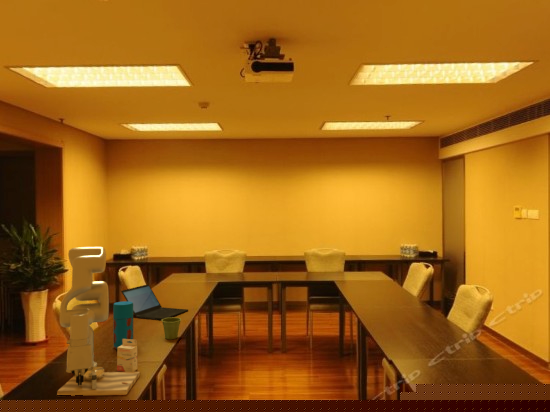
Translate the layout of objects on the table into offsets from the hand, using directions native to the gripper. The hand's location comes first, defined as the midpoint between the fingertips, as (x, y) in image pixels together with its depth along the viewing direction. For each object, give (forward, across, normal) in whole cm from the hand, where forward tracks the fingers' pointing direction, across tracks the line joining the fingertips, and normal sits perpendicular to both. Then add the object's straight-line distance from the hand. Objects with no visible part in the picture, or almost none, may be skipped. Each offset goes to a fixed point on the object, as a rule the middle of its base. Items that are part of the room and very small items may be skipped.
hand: (79, 384), depth 200 cm
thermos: (+3, +22, +60) cm, 65 cm away
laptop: (+4, +51, +138) cm, 147 cm away
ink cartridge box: (+3, +21, +19) cm, 29 cm away
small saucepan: (+1, +6, +3) cm, 7 cm away
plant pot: (+3, +51, +68) cm, 85 cm away
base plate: (+3, +9, +4) cm, 10 cm away
